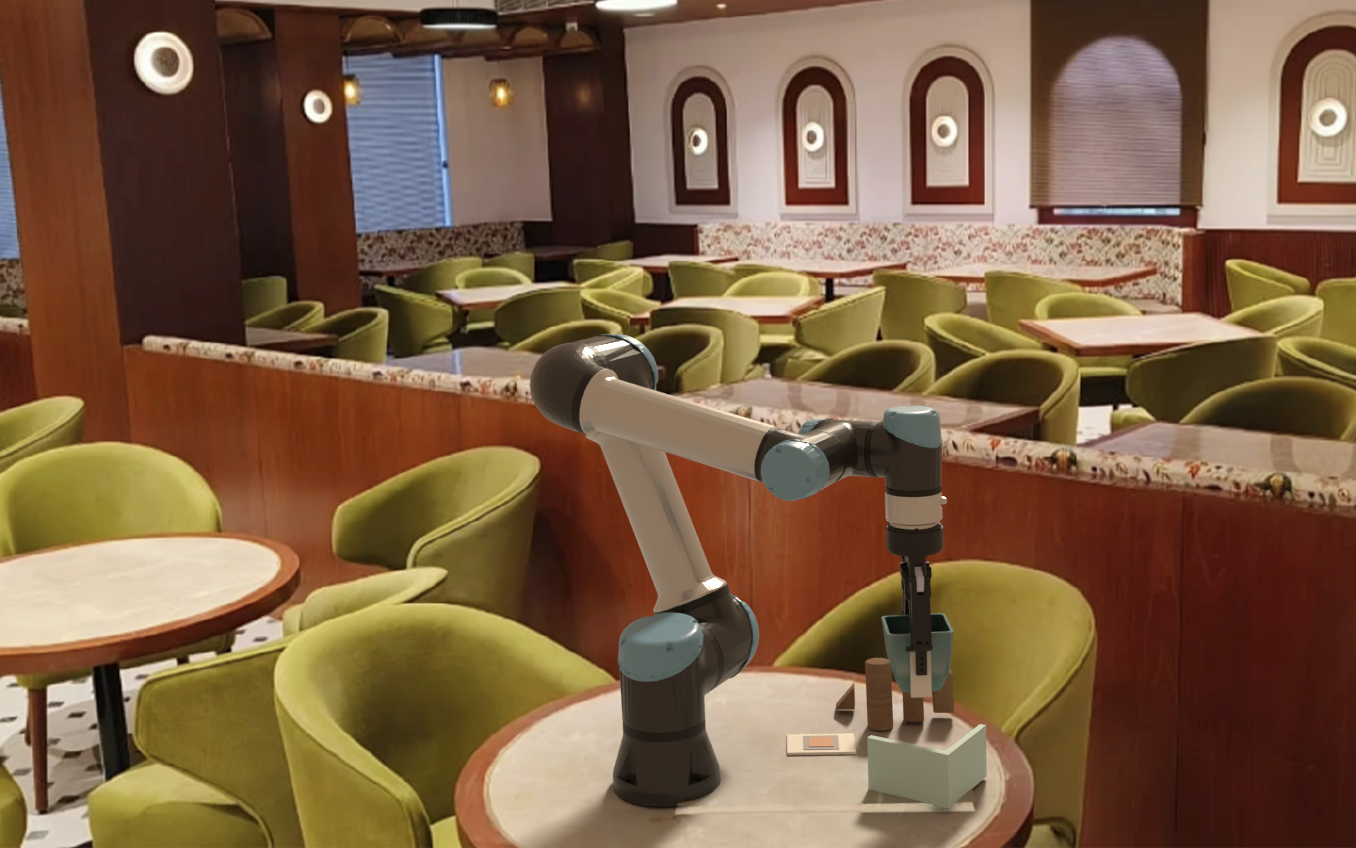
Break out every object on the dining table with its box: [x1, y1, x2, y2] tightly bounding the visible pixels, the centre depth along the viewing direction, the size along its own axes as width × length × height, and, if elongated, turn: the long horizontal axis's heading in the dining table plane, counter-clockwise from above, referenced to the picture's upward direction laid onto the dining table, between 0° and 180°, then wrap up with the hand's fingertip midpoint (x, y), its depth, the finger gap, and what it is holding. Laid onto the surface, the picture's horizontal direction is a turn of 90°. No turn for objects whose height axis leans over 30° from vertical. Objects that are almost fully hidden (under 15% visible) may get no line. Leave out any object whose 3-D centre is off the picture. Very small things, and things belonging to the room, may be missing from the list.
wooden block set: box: [834, 657, 955, 732], centre depth 222 cm, size 18×9×10 cm, turn 82°
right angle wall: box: [866, 723, 987, 809], centre depth 201 cm, size 12×12×8 cm
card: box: [786, 732, 857, 756], centre depth 216 cm, size 10×7×1 cm
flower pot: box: [881, 612, 954, 693], centre depth 198 cm, size 9×9×9 cm
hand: (917, 684), depth 198 cm, fingers closed on flower pot, 8 cm apart
